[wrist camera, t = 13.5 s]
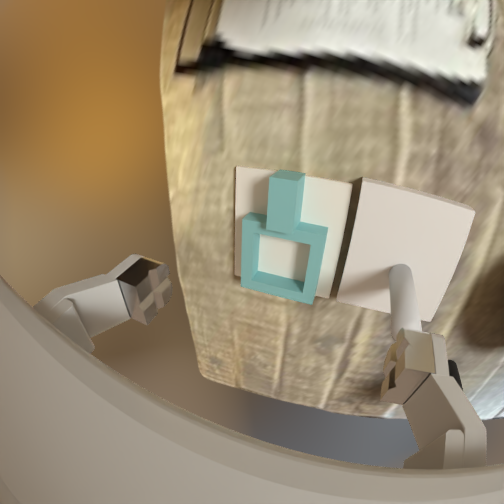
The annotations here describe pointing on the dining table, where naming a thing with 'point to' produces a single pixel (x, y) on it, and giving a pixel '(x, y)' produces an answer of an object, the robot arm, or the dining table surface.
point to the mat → (313, 211)
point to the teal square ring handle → (285, 227)
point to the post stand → (403, 252)
